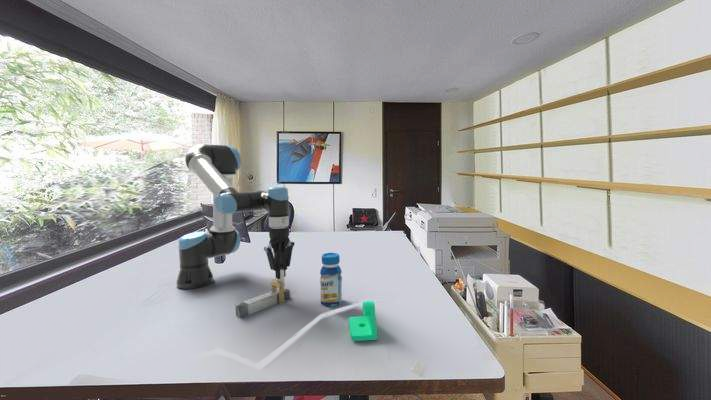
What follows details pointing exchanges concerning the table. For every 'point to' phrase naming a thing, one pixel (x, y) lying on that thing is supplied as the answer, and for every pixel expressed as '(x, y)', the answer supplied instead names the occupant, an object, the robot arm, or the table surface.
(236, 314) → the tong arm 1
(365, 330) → the camera mount
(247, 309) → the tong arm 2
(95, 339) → the table surface
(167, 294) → the table surface
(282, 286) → the brushed brass block
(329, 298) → the beverage bottle
